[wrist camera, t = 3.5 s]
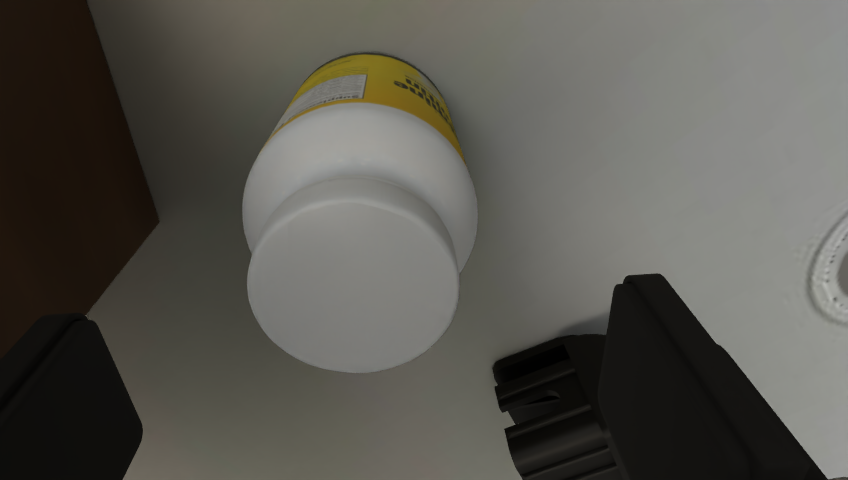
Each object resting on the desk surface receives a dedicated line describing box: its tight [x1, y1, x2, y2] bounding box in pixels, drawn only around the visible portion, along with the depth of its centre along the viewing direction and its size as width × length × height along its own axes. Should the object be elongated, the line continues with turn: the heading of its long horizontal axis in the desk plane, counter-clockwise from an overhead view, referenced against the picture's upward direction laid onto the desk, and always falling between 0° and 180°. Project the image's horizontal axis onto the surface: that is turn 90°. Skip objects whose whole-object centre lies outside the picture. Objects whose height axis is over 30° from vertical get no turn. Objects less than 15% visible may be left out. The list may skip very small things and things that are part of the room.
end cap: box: [493, 334, 630, 480], centre depth 27 cm, size 10×7×7 cm
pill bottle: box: [242, 52, 478, 373], centre depth 17 cm, size 6×6×12 cm
